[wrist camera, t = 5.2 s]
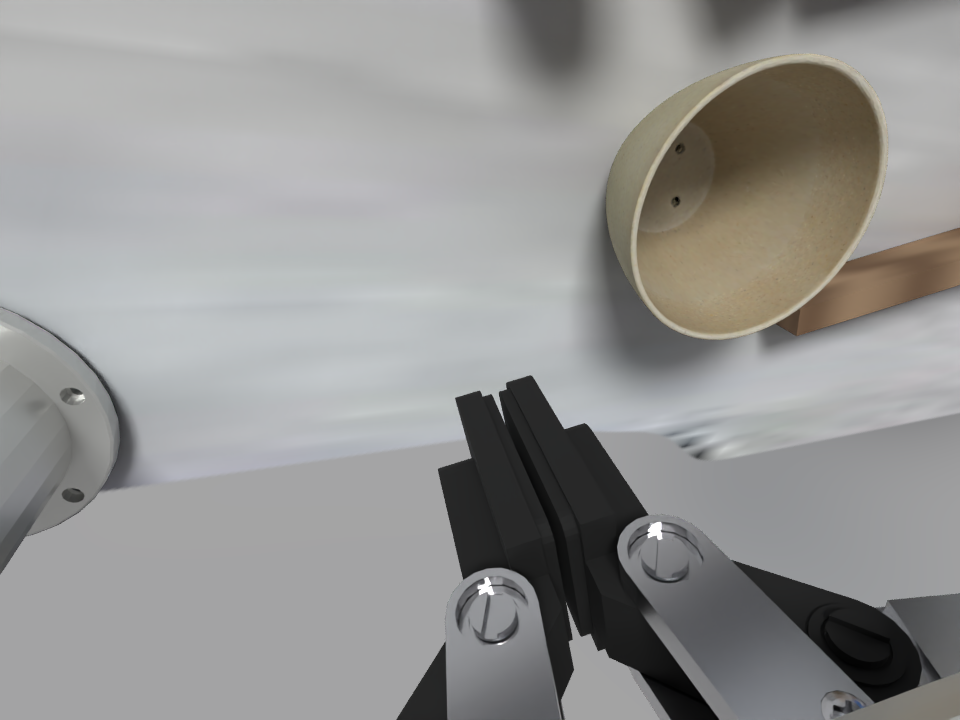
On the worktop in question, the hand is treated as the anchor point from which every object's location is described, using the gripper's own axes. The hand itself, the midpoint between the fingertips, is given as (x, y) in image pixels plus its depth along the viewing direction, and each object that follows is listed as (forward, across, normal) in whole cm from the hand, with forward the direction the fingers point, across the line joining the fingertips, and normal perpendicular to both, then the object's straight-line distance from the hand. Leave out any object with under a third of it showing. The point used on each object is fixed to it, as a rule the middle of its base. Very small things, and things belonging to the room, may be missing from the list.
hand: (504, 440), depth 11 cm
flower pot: (+15, -12, 0) cm, 19 cm away
